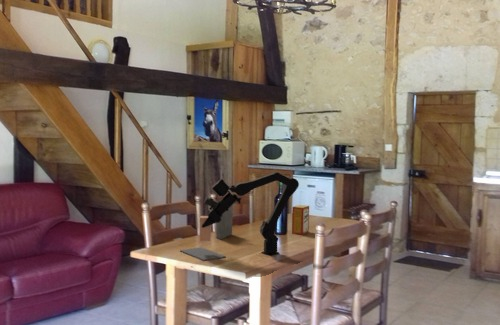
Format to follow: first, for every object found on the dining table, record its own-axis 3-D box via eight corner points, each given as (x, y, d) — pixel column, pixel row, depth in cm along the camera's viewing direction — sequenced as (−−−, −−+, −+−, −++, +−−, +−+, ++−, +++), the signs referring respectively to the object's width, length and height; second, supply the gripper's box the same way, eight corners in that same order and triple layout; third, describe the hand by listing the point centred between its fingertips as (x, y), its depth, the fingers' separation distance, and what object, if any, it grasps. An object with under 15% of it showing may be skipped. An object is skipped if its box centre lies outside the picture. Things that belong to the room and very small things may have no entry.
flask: (223, 233, 307) (224, 199, 306) (233, 234, 305) (233, 199, 304) (213, 238, 293) (213, 202, 292) (223, 239, 291) (223, 202, 290)
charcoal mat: (225, 257, 251) (225, 256, 251) (203, 260, 243) (203, 259, 243) (201, 248, 268) (201, 247, 268) (180, 251, 261) (180, 250, 261)
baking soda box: (298, 230, 319) (299, 204, 318) (308, 232, 315) (309, 205, 314) (291, 233, 310) (292, 206, 309) (302, 234, 307) (302, 207, 306)
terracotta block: (210, 238, 258) (210, 216, 258) (210, 240, 253) (210, 217, 253) (200, 238, 258) (200, 215, 257) (199, 240, 253) (200, 217, 252)
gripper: (214, 189, 264) (191, 211, 264) (214, 193, 245) (189, 217, 245) (229, 205, 265) (207, 226, 265) (231, 210, 246) (206, 234, 246)
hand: (202, 226), depth 255 cm, fingers closed on terracotta block, 5 cm apart
